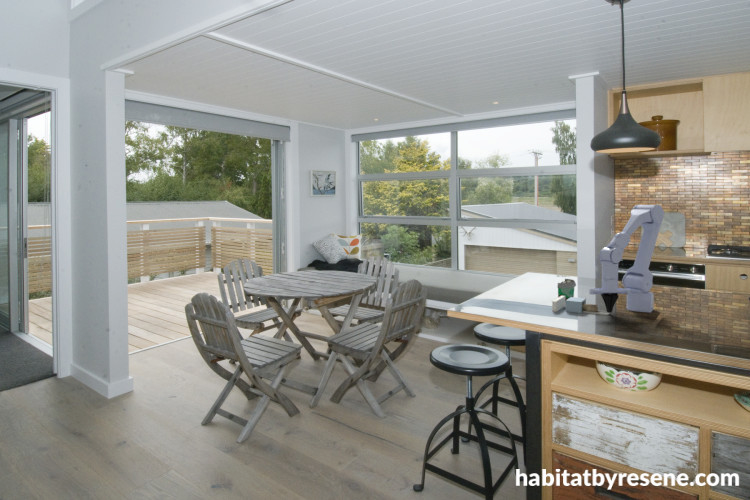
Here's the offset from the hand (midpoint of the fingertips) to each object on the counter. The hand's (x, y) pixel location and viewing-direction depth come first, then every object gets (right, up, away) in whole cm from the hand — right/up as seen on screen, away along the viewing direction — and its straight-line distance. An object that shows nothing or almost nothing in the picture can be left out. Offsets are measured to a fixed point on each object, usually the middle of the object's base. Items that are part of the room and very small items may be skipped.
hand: (609, 312), depth 185 cm
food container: (-5, 0, +26) cm, 27 cm away
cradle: (-3, -2, +3) cm, 5 cm away
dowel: (-7, 0, +6) cm, 9 cm away
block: (-10, -2, +8) cm, 13 cm away
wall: (-15, -1, +12) cm, 20 cm away
